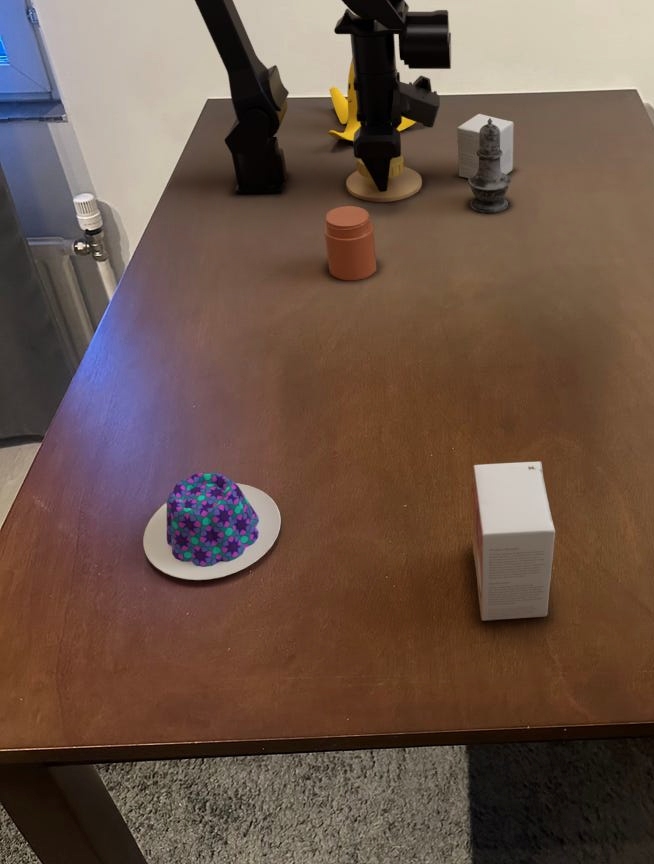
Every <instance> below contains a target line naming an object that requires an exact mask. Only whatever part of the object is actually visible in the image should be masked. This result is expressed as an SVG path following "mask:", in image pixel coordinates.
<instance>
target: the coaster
mask: <svg viewBox="0 0 654 864" xmlns="http://www.w3.org/2000/svg"><path fill="white" fill-rule="evenodd" d="M345 184H346V185H345V186H346V190H347V191H348V193H349V194H350V195H351V196H353V197H354V198H357V199H359V200H363V201H368V202H374V203H375V202H376V203H389V202H396V201H402V200H404V199H407V198H409V197H412V196H414V195H415V194H417V193H418V192H419V191H420V190H421V188H422V186H423V179H422V176H421V175H420V174H419V172H417V171H416V170H414V169H412V168H410V167H406V166H404V171H403V172H402V173H401V174H400V175H398V176H396V177H393V178H389V179H388V186H387V191H379V190H378V188H377V186H376V184H375V183H374V181H373V179H370V178H366V177H363V176H362V175H360V174H359V172H358V170H356V171H354V172H352V173H351V174H350V175H349V176H348V177H347V178H346V182H345Z"/></svg>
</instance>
